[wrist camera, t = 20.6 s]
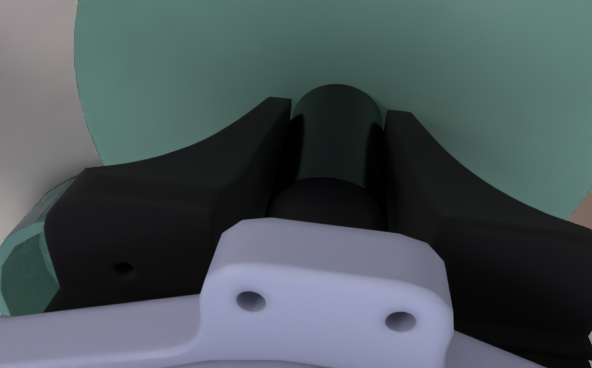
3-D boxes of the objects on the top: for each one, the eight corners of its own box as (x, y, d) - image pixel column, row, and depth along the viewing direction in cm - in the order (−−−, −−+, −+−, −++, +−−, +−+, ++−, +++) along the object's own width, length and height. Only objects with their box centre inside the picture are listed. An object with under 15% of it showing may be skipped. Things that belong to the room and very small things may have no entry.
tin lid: (128, 259, 20) (55, 385, 15) (35, -238, 11) (-202, -292, 6) (514, 310, 19) (561, 461, 14) (752, -188, 10) (1075, -212, 5)
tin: (59, 327, 34) (27, 378, 31) (3, 155, 26) (-49, 200, 23) (260, 357, 34) (248, 412, 30) (266, 189, 25) (251, 240, 22)
